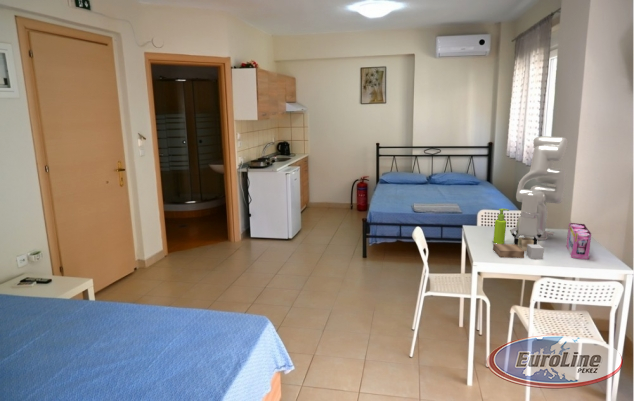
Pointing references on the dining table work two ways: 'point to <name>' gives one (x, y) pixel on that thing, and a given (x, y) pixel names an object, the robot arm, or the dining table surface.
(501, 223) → the soap dispenser
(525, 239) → the maple cube
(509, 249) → the walnut block
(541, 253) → the grey cube
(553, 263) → the dining table surface
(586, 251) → the gum box
